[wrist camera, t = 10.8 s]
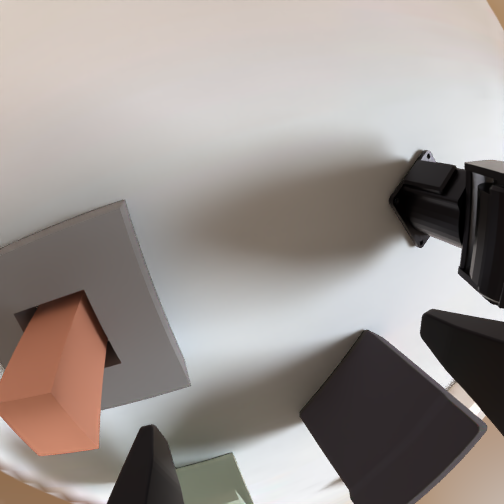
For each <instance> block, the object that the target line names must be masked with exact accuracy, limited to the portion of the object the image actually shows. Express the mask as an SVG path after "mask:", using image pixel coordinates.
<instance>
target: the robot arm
mask: <svg viewBox="0 0 504 504" xmlns="http://www.w3.org/2000/svg"><path fill="white" fill-rule="evenodd" d="M395 199H396V202H395ZM389 202H390V205H391V207H392V208H393V210H394V211H395V213H396V214H397V216H398V217H399V219H400V221H401V222H402V224H403V225H404V227H405V229H406V230H407V232H408V234H409V235H410V237H411V239H412V240H413V242H414V244H415V245H416V246H417V247H419V248H422V247H423V246H424V244H425V243H426V241H427V240H428V238H429V237H430V236H432V237H434V238H437V239H439V240H442V241H444V242H447V243H449V244H452V245H454V246H457V247H459V248H462V253H461V261H460V266H459V268H458V274H459V275H460V276H461V277H462V278H463V279H464V280H466V281H467V282H468V283H469V284H470V285H471V286H472V287H473V288H474V289H475V290H476V291H478V292H479V293H480V294H481V295H482V296H483V297H484V298H485V299H486V300H488V301H489V302H490V303H491V304H493V305H498V307H499V308H504V162H503V161H496V160H482V161H473V162H465V170H464V169H459V168H456V166H455V165H450V164H444V163H438V162H436V161H435V159H434V157H433V155H432V153H431V152H430V151H428V150H424V151H423V152H422V154H421V155H420V157H419V158H418V159H417V161H416V162H415V164H414V165H413V167H412V168H411V169H410V171H409V172H408V174H407V175H406V176H405V178H404V179H403V180H402V182H401V183H400V185H399V186H398V187H397V189H396V190H395V191H394V193H393V194H392V195H391V197H390V200H389ZM420 335H421V338H422V339H423V341H424V342H425V343H426V345H427V346H428V347H429V349H430V350H431V351H432V353H433V354H434V355H435V357H436V358H437V359H438V361H439V362H440V363H441V365H442V366H443V367H444V368H445V370H446V371H447V372H448V373H449V374H450V375H451V376H452V377H453V378H454V380H455V381H456V382H457V383H458V384H459V385H460V386H461V387H462V388H463V390H464V391H465V392H466V393H467V394H468V395H469V396H470V397H471V399H472V400H473V401H474V402H475V403H476V404H477V405H478V407H479V408H480V409H481V410H482V411H483V412H484V413H485V415H486V416H487V417H488V418H489V419H490V420H491V422H492V423H493V424H494V425H495V426H496V428H497V429H498V430H499V431H500V432H501V434H502V435H503V436H504V322H502V321H496V320H490V319H485V318H479V317H474V316H468V315H463V314H457V313H452V312H447V311H441V310H436V309H431V310H429V311H427V312H426V313H424V314H423V316H422V321H421V329H420ZM107 504H184V500H183V495H182V490H181V486H180V483H179V479H178V476H177V473H176V470H175V466H174V463H173V459H172V456H171V452H170V449H169V445H168V443H167V440H166V439H165V437H164V436H163V435H162V434H161V432H160V431H159V430H158V428H157V427H156V426H155V425H153V424H151V425H147V426H143V427H141V428H140V429H139V432H138V434H137V436H136V438H135V440H134V443H133V445H132V447H131V449H130V452H129V454H128V456H127V458H126V461H125V463H124V465H123V467H122V470H121V472H120V474H119V476H118V479H117V481H116V483H115V486H114V488H113V490H112V493H111V495H110V497H109V500H108V502H107Z"/></svg>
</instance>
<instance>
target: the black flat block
mask: <svg viewBox="0 0 504 504" xmlns="http://www.w3.org/2000/svg"><path fill="white" fill-rule="evenodd" d="M300 417H301V419H302V421H303V422H304V424H305V425H306V427H307V428H308V430H309V431H310V433H311V434H312V436H313V437H314V439H315V440H316V442H317V444H318V445H319V447H320V448H321V450H322V451H323V453H324V454H325V456H326V457H327V459H328V460H329V461H330V463H331V464H332V466H333V467H334V469H335V470H336V472H337V473H338V475H339V476H340V478H341V479H342V480H343V482H344V483H345V485H346V486H347V488H348V489H349V492H350V499H351V500H352V502H353V503H354V504H415V503H416V502H417V501H418V500H420V499H421V498H422V497H423V496H424V495H425V494H427V493H428V492H429V491H430V490H431V489H432V488H433V487H434V486H435V485H436V484H437V483H439V482H440V481H441V480H442V479H443V478H444V477H445V476H446V475H447V474H448V473H449V472H450V471H451V470H452V469H453V468H454V467H455V466H456V465H457V464H458V463H459V462H460V461H461V460H462V459H463V458H464V457H465V455H466V454H467V453H468V452H469V451H470V450H471V449H472V448H473V447H474V445H475V444H476V443H477V442H478V441H479V440H480V438H481V437H482V436H483V435H484V433H485V432H486V431H487V425H486V424H485V423H484V422H483V421H482V420H481V419H480V418H479V417H477V416H476V415H475V414H474V413H473V412H472V411H470V410H469V409H468V408H467V407H466V406H464V405H463V404H462V403H461V402H460V401H459V400H457V399H456V398H455V397H454V396H453V395H451V394H450V393H449V392H448V391H447V390H446V389H444V388H443V387H442V386H441V385H440V384H438V383H437V382H436V381H435V380H434V379H432V378H431V377H430V376H429V375H428V374H426V373H425V372H424V371H423V370H422V369H420V368H419V367H418V366H417V365H416V364H414V363H413V362H412V361H411V360H410V359H408V358H407V357H406V356H405V355H404V354H402V353H401V352H400V351H399V350H398V349H396V348H395V347H394V346H393V345H391V344H390V343H389V342H388V341H387V340H385V339H384V338H383V337H381V336H379V335H377V334H375V333H373V332H371V331H369V330H365V331H364V332H363V333H362V334H361V336H360V337H359V339H358V340H357V341H356V343H355V344H354V345H353V347H352V348H351V350H350V351H349V352H348V354H347V355H346V356H345V358H344V359H343V360H342V361H341V363H340V364H339V365H338V367H337V368H336V369H335V370H334V372H333V373H332V374H331V376H330V377H329V378H328V379H327V381H326V382H325V383H324V384H323V385H322V387H321V388H320V389H319V390H318V391H317V393H316V394H315V395H314V396H313V397H312V399H311V400H310V401H309V402H308V403H307V404H306V406H305V407H304V408H303V409H302V410H301V412H300Z"/></svg>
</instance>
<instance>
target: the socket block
mask: <svg viewBox="0 0 504 504" xmlns="http://www.w3.org/2000/svg"><path fill="white" fill-rule="evenodd" d="M81 290H84V291H85V293H86V295H87V297H88V299H89V302H90V304H91V306H92V308H93V310H94V312H95V314H96V316H97V318H98V320H99V322H100V324H101V326H102V328H103V330H104V332H105V334H106V336H107V338H108V340H109V341H107V348H106V356H105V365H104V374H103V384H102V396H101V410H105V409H109V408H113V407H117V406H121V405H125V404H129V403H133V402H137V401H141V400H144V399H148V398H152V397H155V396H159V395H162V394H166V393H169V392H172V391H176V390H179V389H182V388H185V387H189V386H191V384H190V380H189V376H188V372H187V368H186V364H185V359H184V357H183V355H182V353H181V350H180V348H179V346H178V344H177V341H176V339H175V337H174V334H173V332H172V330H171V327H170V325H169V322H168V320H167V318H166V315H165V313H164V310H163V308H162V305H161V303H160V300H159V298H158V295H157V293H156V290H155V287H154V285H153V282H152V279H151V277H150V274H149V271H148V269H147V266H146V263H145V260H144V257H143V255H142V252H141V249H140V246H139V243H138V240H137V237H136V234H135V231H134V228H133V225H132V222H131V219H130V215H129V212H128V209H127V206H126V202H125V200H122V201H119V202H116V203H113V204H110V205H107V206H104V207H102V208H99V209H96V210H93V211H91V212H88V213H85V214H83V215H80V216H77V217H75V218H72V219H69V220H67V221H64V222H62V223H59V224H57V225H54V226H52V227H49V228H47V229H44V230H42V231H40V232H37V233H35V234H33V235H30V236H28V237H26V238H23V239H21V240H19V241H17V242H14V243H12V244H10V245H8V246H5V247H3V248H1V249H0V362H1V364H2V365H3V367H4V368H5V369H6V367H7V365H8V363H9V361H10V359H11V357H12V355H13V353H14V351H15V349H16V347H17V345H18V343H19V341H20V339H21V337H22V335H23V333H24V331H25V329H26V328H27V326H28V324H29V322H30V320H31V319H32V317H33V315H34V313H35V312H36V310H37V309H36V307H35V306H37V305H40V304H43V303H46V302H49V301H52V300H55V299H58V298H61V297H63V296H66V295H69V294H72V293H75V292H78V291H81Z"/></svg>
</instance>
